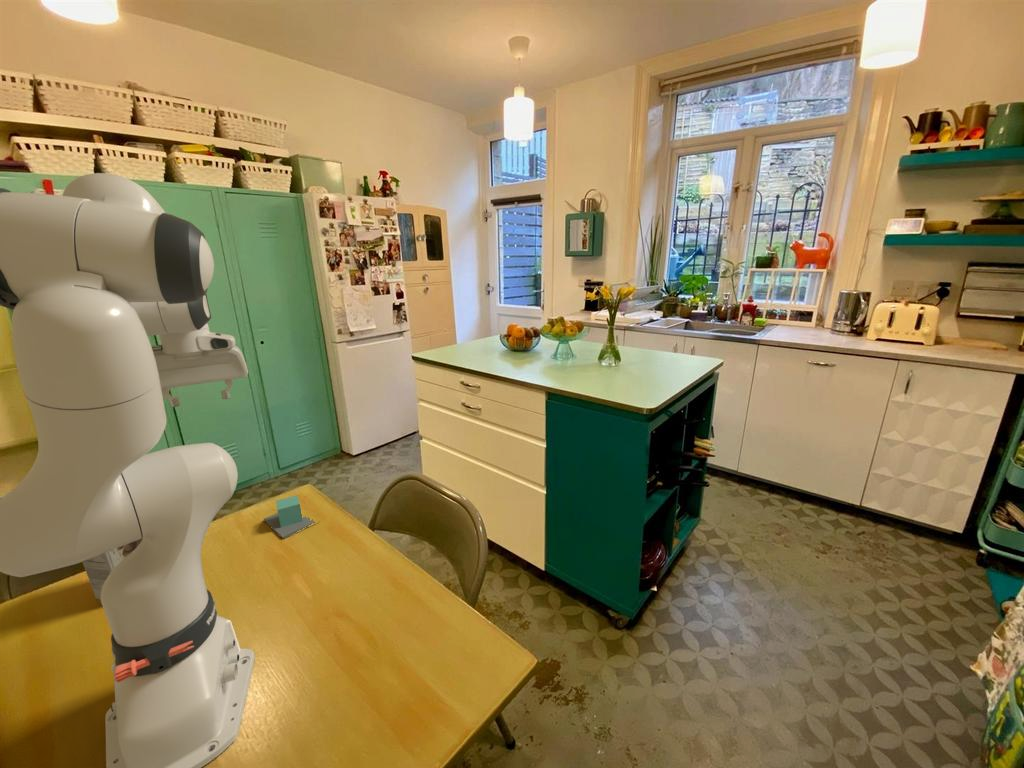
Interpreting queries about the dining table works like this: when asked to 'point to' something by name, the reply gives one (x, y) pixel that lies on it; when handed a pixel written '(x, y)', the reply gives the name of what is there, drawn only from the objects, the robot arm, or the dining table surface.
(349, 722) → the dining table surface
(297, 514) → the teal cube
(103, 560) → the coffee box
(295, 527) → the mat
